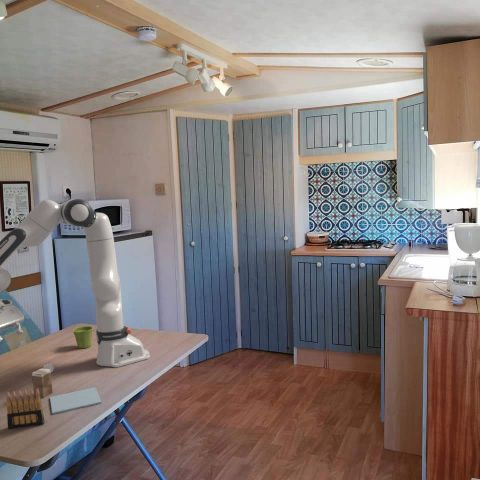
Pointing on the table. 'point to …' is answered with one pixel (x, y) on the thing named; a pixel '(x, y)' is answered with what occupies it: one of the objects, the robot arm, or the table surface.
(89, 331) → the plant pot
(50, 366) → the game pieces
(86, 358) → the table surface
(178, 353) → the table surface
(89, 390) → the blue-grey mat
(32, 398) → the ammunition clip
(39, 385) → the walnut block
